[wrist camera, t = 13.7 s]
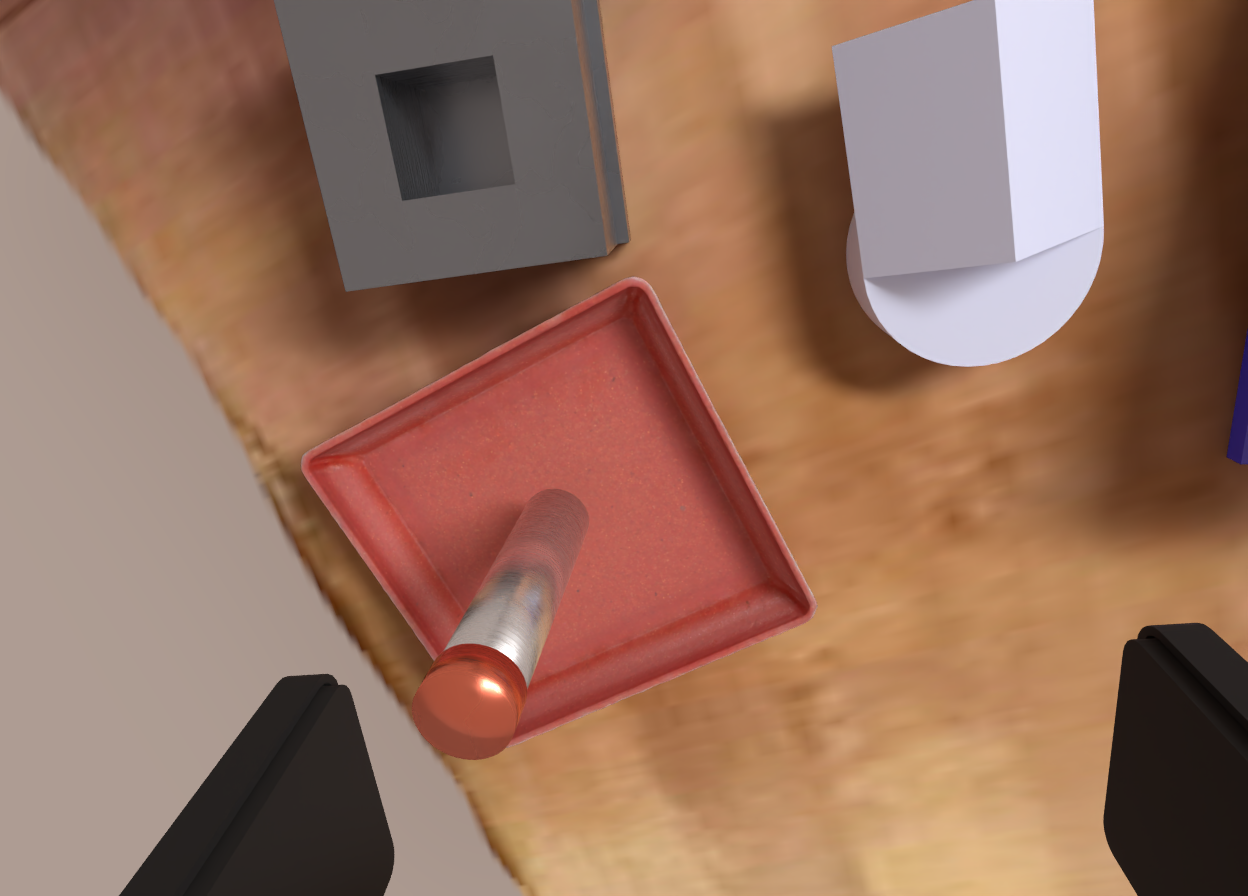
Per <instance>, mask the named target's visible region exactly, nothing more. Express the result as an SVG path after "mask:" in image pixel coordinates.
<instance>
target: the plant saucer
mask: <svg viewBox="0 0 1248 896" xmlns="http://www.w3.org/2000/svg"><path fill="white" fill-rule="evenodd" d="M301 471H302V472H303V474H304V476H305V478H306V479H307V481H308V482H309V484H310V485H311V487H312V488H313V490H314V491H315V492H316V494H317V495H318V496H319V498H320V499H321V501H322V502H323V504H324V505H325V506H326V508H327V509H328V510H329V512H330V514H331V515H332V517H333V518H334V519H335V521H336V522H337V523H338V525H339V527H340V528H341V529H342V531H343V532H344V533H345V535H346V536H347V537H348V539H349V540H350V542H351V543H352V545H353V546H354V547H355V549H356V550H357V552H358V553H359V555H360V556H361V557H362V559H363V560H364V562H365V563H366V565H367V566H368V568H369V569H370V570H371V572H372V573H373V575H374V576H375V578H376V579H377V580H378V582H379V583H380V584H381V586H382V588H383V589H384V591H385V592H386V593H387V594H388V596H389V597H390V599H391V600H392V602H393V603H394V605H395V606H396V608H397V609H398V610H399V612H400V613H401V614H402V616H403V617H404V619H405V620H406V622H407V623H408V624H409V626H410V627H411V628H412V630H413V632H414V633H415V635H416V636H417V638H418V639H419V641H420V642H421V643H422V644H423V646H424V647H425V648H426V650H427V652H428V653H429V655H430V656H431V658H432V659H433V660H434V661H435V659H436V658H437V657H438V656H439V655H440V654H441V653H442V652H443V651H444V649H445V648H446V646H447V644H448V642H449V640H450V639H451V637H452V635H453V633H454V632H455V630H456V628H457V626H458V625H459V623H460V621H461V619H462V618H463V616H464V614H465V612H466V610H467V609H468V607H469V605H470V603H471V602H472V600H473V598H474V596H475V595H476V593H477V591H478V589H479V588H480V586H481V584H482V582H483V580H484V579H485V577H486V575H487V573H488V572H489V570H490V568H491V566H492V565H493V563H494V561H495V559H496V558H497V556H498V554H499V552H500V550H501V549H502V547H503V545H504V543H505V542H506V540H507V538H508V536H509V535H510V533H511V531H512V529H513V528H514V526H515V524H516V522H517V520H518V519H519V517H520V515H521V513H522V512H523V510H524V508H525V506H526V505H527V503H528V501H529V500H530V499H531V498H532V497H533V496H534V495H535V494H537V493H538V492H540V491H543V490H546V489H561V490H564V491H567V492H570V493H572V494H573V495H575V496H576V497H577V498H579V499H580V500H581V502H582V503H583V504H584V506H585V507H586V509H587V512H588V515H589V528H588V531H587V534H586V536H585V539H584V542H583V544H582V547H581V550H580V552H579V555H578V557H577V560H576V563H575V565H574V568H573V571H572V573H571V576H570V578H569V581H568V584H567V586H566V589H565V592H564V594H563V597H562V600H561V602H560V605H559V607H558V610H557V613H556V615H555V618H554V621H553V623H552V626H551V628H550V631H549V634H548V636H547V639H546V642H545V644H544V647H543V650H542V652H541V655H540V657H539V660H538V663H537V665H536V668H535V671H534V673H533V676H532V678H531V681H530V684H529V686H528V689H527V700H526V703H525V706H524V708H523V711H522V714H521V716H520V719H519V722H518V724H517V727H516V730H515V732H514V735H513V738H512V740H511V742H510V743H509V744H508V746H507V747H511V746H514V745H517V744H519V743H522V742H524V741H526V740H528V739H530V738H533V737H535V736H538V735H541V734H543V733H545V732H548V731H551V730H553V729H555V728H557V727H559V726H562V725H564V724H566V723H569V722H571V721H574V720H576V719H579V718H581V717H583V716H585V715H587V714H590V713H592V712H595V711H597V710H600V709H603V708H605V707H607V706H609V705H612V704H615V703H616V702H618V701H620V700H623V699H625V698H628V697H630V696H632V695H635V694H638V693H641V692H643V691H645V690H648V689H650V688H652V687H654V686H656V685H658V684H661V683H664V682H667V681H670V680H672V679H674V678H676V677H679V676H681V675H683V674H685V673H687V672H690V671H693V670H695V669H697V668H699V667H702V666H704V665H707V664H709V663H711V662H713V661H716V660H718V659H721V658H723V657H726V656H729V655H731V654H733V653H735V652H737V651H739V650H742V649H744V648H747V647H749V646H752V645H754V644H757V643H759V642H762V641H764V640H766V639H768V638H771V637H773V636H776V635H779V634H781V633H783V632H785V631H787V630H789V629H792V628H795V627H797V626H800V625H802V624H804V623H806V622H807V621H809V620H810V619H812V618H813V616H814V614H815V612H816V609H817V602H816V600H815V598H814V596H813V594H812V592H811V590H810V588H809V587H808V585H807V583H806V581H805V579H804V577H803V575H802V573H801V571H800V569H799V567H798V565H797V564H796V562H795V560H794V558H793V556H792V554H791V552H790V551H789V549H788V547H787V545H786V543H785V541H784V539H783V537H782V535H781V533H780V531H779V529H778V527H777V525H776V524H775V522H774V520H773V518H772V516H771V514H770V512H769V510H768V508H767V507H766V505H765V503H764V501H763V499H762V497H761V495H760V493H759V491H758V490H757V488H756V486H755V483H754V481H753V480H752V478H751V476H750V474H749V472H748V470H747V468H746V466H745V465H744V463H743V461H742V459H741V457H740V456H739V454H738V452H737V450H736V448H735V445H734V444H733V442H732V440H731V438H730V437H729V435H728V432H727V430H726V428H725V426H724V425H723V423H722V421H721V419H720V417H719V416H718V414H717V412H716V410H715V408H714V406H713V404H712V402H711V400H710V398H709V396H708V394H707V392H706V390H705V389H704V387H703V385H702V383H701V381H700V379H699V377H698V375H697V373H696V371H695V369H694V367H693V365H692V363H691V362H690V360H689V358H688V356H687V354H686V352H685V350H684V348H683V346H682V344H681V342H680V340H679V338H678V336H677V335H676V333H675V331H674V329H673V327H672V325H671V323H670V321H669V319H668V317H667V316H666V314H665V312H664V310H663V308H662V306H661V304H660V301H659V299H658V297H657V295H656V293H655V292H654V290H653V289H652V287H651V286H650V284H649V283H647V282H646V281H645V280H643V279H641V278H638V277H629V278H625V279H623V280H621V281H619V282H617V283H615V284H613V285H611V286H609V287H608V288H606V289H604V290H602V291H600V292H598V293H597V294H595V295H593V296H591V297H589V298H587V299H586V300H584V301H582V302H580V303H578V304H576V305H574V306H572V307H570V308H568V309H566V310H565V311H563V312H561V313H559V314H557V315H556V316H554V317H552V318H550V319H548V320H546V321H544V322H543V323H541V324H539V325H537V326H535V327H533V328H531V329H529V330H527V331H526V332H524V333H522V334H520V335H518V336H517V337H515V338H513V339H511V340H509V341H507V342H505V343H504V344H502V345H500V346H498V347H496V348H494V349H492V350H490V351H488V352H487V353H485V354H484V355H482V356H481V357H479V358H477V359H475V360H473V361H471V362H469V363H467V364H465V365H463V366H462V367H460V368H459V369H457V370H455V371H453V372H451V373H449V374H448V375H446V376H444V377H442V378H440V379H438V380H436V381H435V382H433V383H431V384H429V385H427V386H425V387H423V388H422V389H420V390H418V391H417V392H415V393H413V394H412V395H410V396H408V397H406V398H404V399H402V400H400V401H399V402H397V403H395V404H393V405H391V406H390V407H388V408H386V409H384V410H382V411H380V412H378V413H376V414H375V415H373V416H371V417H369V418H367V419H365V420H364V421H362V422H360V423H358V424H356V425H355V426H353V427H351V428H349V429H347V430H345V431H343V432H342V433H340V434H338V435H336V436H334V437H332V438H330V439H328V440H327V441H325V442H323V443H321V444H319V445H318V446H316V447H314V448H312V449H311V450H309V451H307V452H306V453H304V455H303V456H302V459H301ZM507 747H506V748H507Z"/></svg>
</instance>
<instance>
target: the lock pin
mask: <svg viewBox="0 0 1248 896" xmlns="http://www.w3.org/2000/svg"><path fill="white" fill-rule="evenodd" d="M588 528H589V515H588V512H587V509H586V507H585V506H584V504H583V503H582V502H581V500H580V499H579V498H577V497H576V496H575V495H573V494H572V493H570V492H567V491H564V490H561V489H546V490H543V491H540V492H538V493H537V494H535V495H534V496H533V497H532V498H531V499H530V500H529V501H528V503H527V505H526V506H525V508H524V510H523V512H522V513H521V515H520V517H519V519H518V520H517V522H516V524H515V526H514V528H513V529H512V531H511V533H510V535H509V536H508V538H507V540H506V542H505V543H504V545H503V547H502V549H501V550H500V552H499V554H498V556H497V558H496V559H495V561H494V563H493V565H492V566H491V568H490V570H489V572H488V573H487V575H486V577H485V579H484V580H483V582H482V584H481V586H480V588H479V589H478V591H477V593H476V595H475V596H474V598H473V600H472V602H471V603H470V605H469V607H468V609H467V610H466V612H465V614H464V616H463V618H462V619H461V621H460V623H459V625H458V626H457V628H456V630H455V632H454V633H453V635H452V637H451V639H450V640H449V642H448V644H447V646H446V648H445V649H444V651H443V652H442V653H441V654H440V655H439V656H438V657H437V658H436V659H435V661H434V662H433V664H432V666H431V668H430V669H429V671H428V673H427V675H426V676H425V678H424V680H423V681H422V683H421V685H420V687H419V688H418V690H417V692H416V694H415V696H414V699H413V703H412V715H413V719H414V722H415V724H416V726H417V728H418V730H419V732H420V733H421V734H422V736H423V737H424V738H425V739H426V740H427V741H428V742H429V743H430V744H431V745H432V746H434V747H435V748H437V749H438V750H440V751H442V752H444V753H446V754H448V755H451V756H454V757H457V758H461V759H468V760H478V759H485V758H489V757H492V756H494V755H496V754H498V753H500V752H501V751H503V750H504V749H505V748H506V747H507V746H508V744H509V743H510V742H511V740H512V738H513V735H514V732H515V730H516V727H517V724H518V722H519V719H520V716H521V714H522V711H523V708H524V706H525V703H526V700H527V689H528V686H529V684H530V681H531V678H532V676H533V673H534V671H535V668H536V665H537V663H538V660H539V657H540V655H541V652H542V650H543V647H544V644H545V642H546V639H547V636H548V634H549V631H550V628H551V626H552V623H553V621H554V618H555V615H556V613H557V610H558V607H559V605H560V602H561V600H562V597H563V594H564V592H565V589H566V586H567V584H568V581H569V578H570V576H571V573H572V571H573V568H574V565H575V563H576V560H577V557H578V555H579V552H580V550H581V547H582V544H583V542H584V539H585V536H586V534H587V531H588Z"/></svg>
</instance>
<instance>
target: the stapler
mask: <svg viewBox="0 0 1248 896" xmlns="http://www.w3.org/2000/svg"><path fill="white" fill-rule="evenodd" d="M1227 458H1229V459H1231V460H1233V461H1235V462H1237V463H1239V464H1241V465H1242V464H1248V330H1247V336H1246V342H1245V348H1244V354H1243V360H1242V366H1241V372H1240V378H1239V384H1238V391H1237V397H1236V403H1235V409H1234V415H1233V421H1232V427H1231V433H1230V439H1229V445H1228V451H1227Z"/></svg>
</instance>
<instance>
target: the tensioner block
mask: <svg viewBox="0 0 1248 896" xmlns="http://www.w3.org/2000/svg"><path fill="white" fill-rule="evenodd" d="M274 3H275V7H276V11H277V15H278V19H279V23H280V27H281V32H282V36H283V40H284V44H285V48H286V52H287V56H288V60H289V64H290V68H291V72H292V76H293V80H294V84H295V88H296V92H297V96H298V100H299V105H300V109H301V113H302V117H303V121H304V125H305V129H306V133H307V137H308V141H309V145H310V149H311V153H312V157H313V161H314V165H315V169H316V173H317V177H318V182H319V186H320V190H321V194H322V198H323V202H324V206H325V210H326V214H327V218H328V222H329V226H330V230H331V234H332V238H333V242H334V246H335V250H336V254H337V259H338V263H339V267H340V271H341V275H342V279H343V283H344V287H345V291H346V292H347V291H355V290H362V289H369V288H376V287H384V286H391V285H398V284H405V283H413V282H420V281H427V280H434V279H442V278H449V277H456V276H463V275H471V274H478V273H485V272H492V271H500V270H507V269H514V268H521V267H528V266H536V265H543V264H550V263H557V262H565V261H572V260H579V259H586V258H594V257H601V256H608V254H609V253H610V252H611V251H612V250H613V249H614V247H615V246H616V245H617V244H621V243H628V242H630V241H631V238H630V230H629V223H628V215H627V208H626V200H625V193H624V185H623V178H622V170H621V163H620V155H619V148H618V140H617V133H616V125H615V118H614V110H613V103H612V95H611V88H610V80H609V73H608V65H607V58H606V50H605V43H604V35H603V28H602V20H601V13H600V5H599V0H274Z"/></svg>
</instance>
